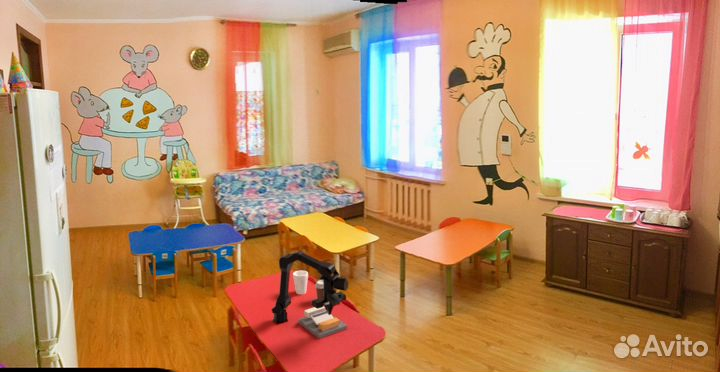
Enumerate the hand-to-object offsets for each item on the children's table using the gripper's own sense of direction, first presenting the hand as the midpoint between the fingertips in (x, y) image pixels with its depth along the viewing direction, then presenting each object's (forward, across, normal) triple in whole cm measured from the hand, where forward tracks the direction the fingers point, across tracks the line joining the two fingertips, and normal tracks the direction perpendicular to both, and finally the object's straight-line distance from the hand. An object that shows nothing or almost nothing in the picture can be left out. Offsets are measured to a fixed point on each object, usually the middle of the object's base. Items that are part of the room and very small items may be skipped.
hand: (329, 314), depth 264 cm
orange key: (+7, 0, 0) cm, 7 cm away
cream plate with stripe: (+5, 0, +7) cm, 9 cm away
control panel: (+9, 0, +7) cm, 12 cm away
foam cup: (+10, +12, +52) cm, 54 cm away
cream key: (+6, 0, +15) cm, 16 cm away
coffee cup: (+10, +17, +34) cm, 39 cm away
